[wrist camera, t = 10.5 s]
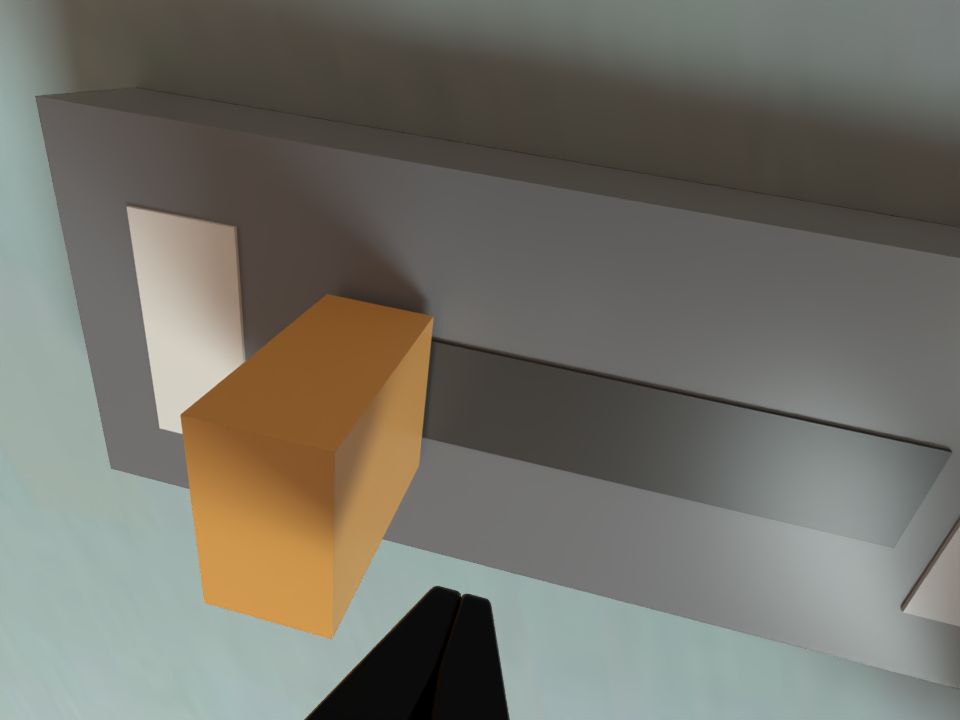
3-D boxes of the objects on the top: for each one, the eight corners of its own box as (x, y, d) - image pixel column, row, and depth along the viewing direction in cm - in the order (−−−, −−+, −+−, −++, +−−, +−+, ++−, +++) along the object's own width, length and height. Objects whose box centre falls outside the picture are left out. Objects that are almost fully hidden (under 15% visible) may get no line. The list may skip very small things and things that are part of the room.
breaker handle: (433, 315, 13) (334, 452, 9) (418, 465, 15) (331, 638, 11) (326, 294, 13) (180, 414, 9) (325, 443, 15) (204, 602, 11)
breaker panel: (1192, 266, 13) (1346, 327, 10) (952, 603, 17) (1012, 705, 15) (134, 87, 16) (31, 96, 13) (177, 414, 20) (108, 470, 18)
